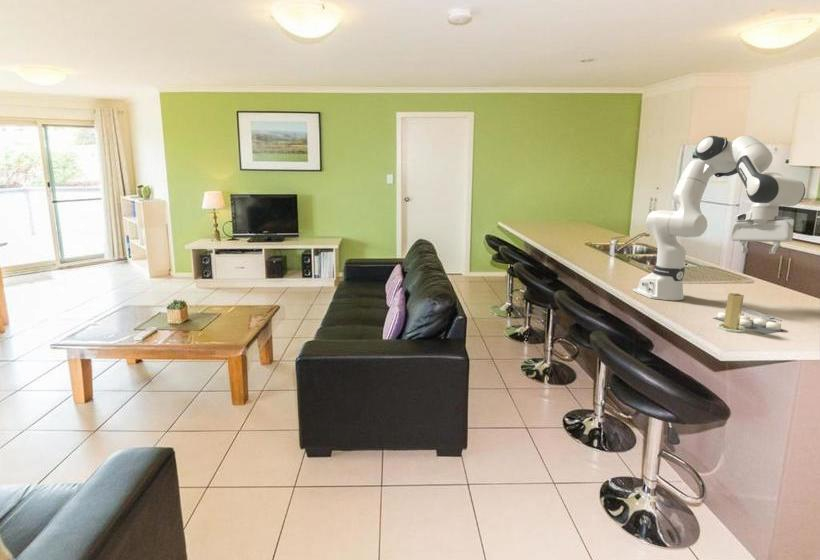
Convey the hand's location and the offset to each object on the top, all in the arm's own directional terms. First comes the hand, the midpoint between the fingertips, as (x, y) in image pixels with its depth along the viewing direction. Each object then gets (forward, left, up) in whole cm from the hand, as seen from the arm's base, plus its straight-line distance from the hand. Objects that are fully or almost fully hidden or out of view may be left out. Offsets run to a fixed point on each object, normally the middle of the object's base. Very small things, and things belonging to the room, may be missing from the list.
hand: (757, 253), depth 188 cm
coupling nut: (+8, -19, -26) cm, 33 cm away
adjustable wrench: (-3, +10, -27) cm, 29 cm away
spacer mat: (+6, -8, -26) cm, 28 cm away
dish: (+8, -19, -26) cm, 33 cm away
